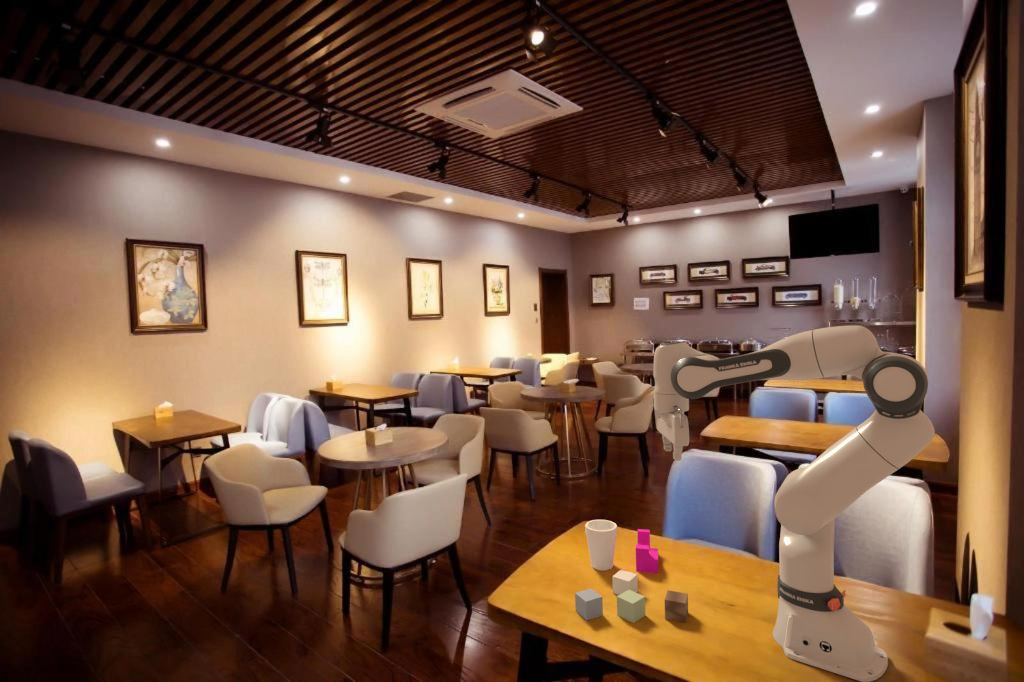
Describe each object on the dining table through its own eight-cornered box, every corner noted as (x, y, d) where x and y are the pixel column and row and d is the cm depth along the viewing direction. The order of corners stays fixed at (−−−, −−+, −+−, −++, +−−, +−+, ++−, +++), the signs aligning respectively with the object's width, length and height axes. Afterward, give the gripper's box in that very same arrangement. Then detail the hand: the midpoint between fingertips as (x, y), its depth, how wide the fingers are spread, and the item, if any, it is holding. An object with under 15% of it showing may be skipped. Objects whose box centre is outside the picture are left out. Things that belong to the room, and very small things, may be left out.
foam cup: (594, 576, 159) (592, 533, 158) (581, 563, 168) (580, 522, 167) (623, 571, 161) (622, 528, 161) (609, 558, 170) (608, 518, 170)
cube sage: (645, 615, 137) (644, 596, 137) (633, 623, 134) (632, 603, 134) (629, 608, 141) (628, 589, 141) (617, 615, 138) (616, 596, 138)
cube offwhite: (637, 592, 149) (637, 574, 149) (629, 599, 145) (628, 581, 145) (621, 586, 152) (620, 569, 152) (612, 594, 149) (612, 576, 148)
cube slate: (602, 615, 138) (602, 596, 138) (586, 621, 136) (585, 601, 136) (591, 606, 142) (591, 588, 142) (575, 611, 140) (575, 593, 140)
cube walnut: (688, 612, 138) (687, 593, 138) (685, 623, 133) (685, 603, 133) (667, 609, 140) (667, 590, 140) (665, 619, 136) (664, 599, 135)
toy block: (658, 575, 159) (657, 549, 159) (636, 573, 161) (635, 548, 160) (658, 553, 173) (657, 530, 173) (638, 551, 175) (637, 529, 175)
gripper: (695, 409, 132) (696, 465, 133) (673, 397, 153) (674, 446, 153) (669, 410, 132) (670, 466, 133) (650, 398, 153) (651, 446, 153)
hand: (672, 455), depth 143 cm, fingers open, 8 cm apart
